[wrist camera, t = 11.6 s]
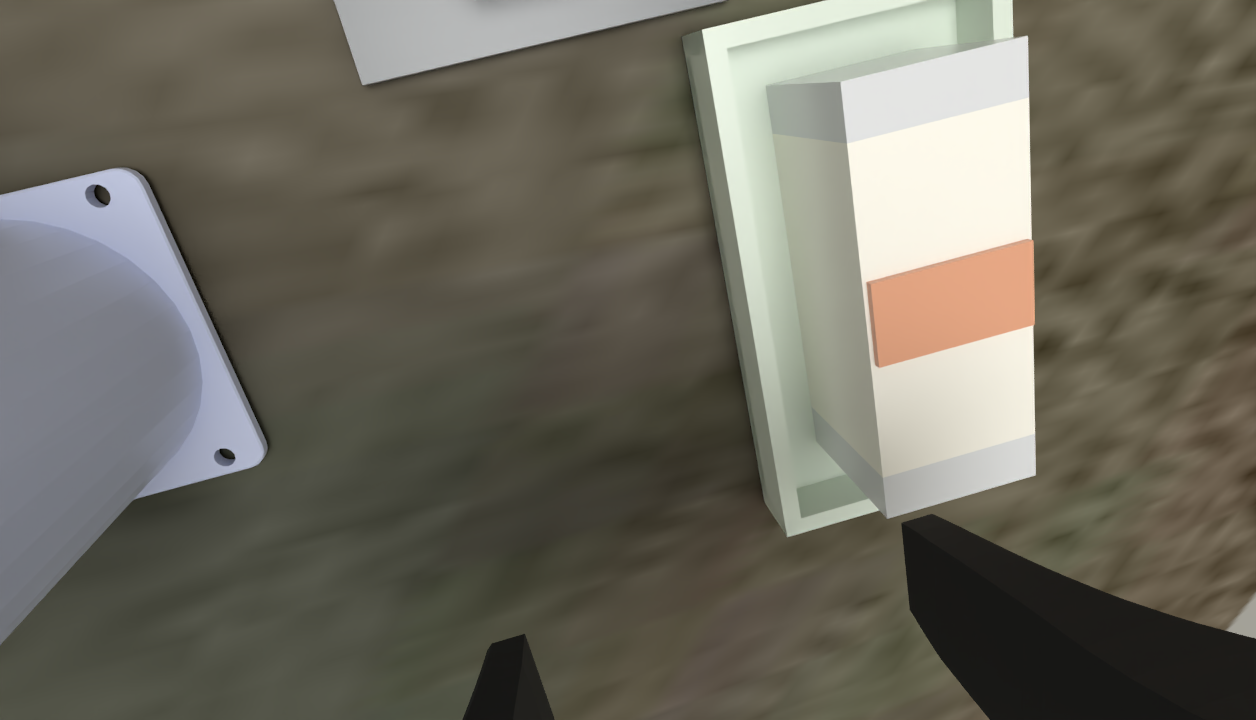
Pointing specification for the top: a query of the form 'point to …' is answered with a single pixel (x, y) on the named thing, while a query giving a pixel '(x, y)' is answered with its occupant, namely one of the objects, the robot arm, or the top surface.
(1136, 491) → the top surface
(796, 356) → the tray
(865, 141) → the fuse
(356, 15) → the board
